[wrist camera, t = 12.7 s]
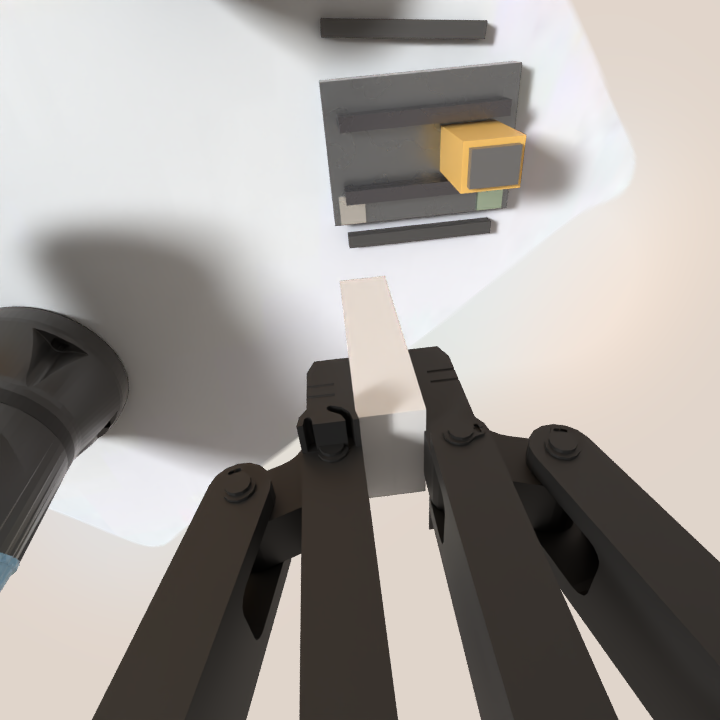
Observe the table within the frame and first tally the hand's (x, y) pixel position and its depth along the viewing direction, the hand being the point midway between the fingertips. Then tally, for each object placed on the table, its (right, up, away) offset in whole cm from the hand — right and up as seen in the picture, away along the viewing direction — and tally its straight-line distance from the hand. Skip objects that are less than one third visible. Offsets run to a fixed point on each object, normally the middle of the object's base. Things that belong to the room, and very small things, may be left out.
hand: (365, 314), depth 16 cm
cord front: (+3, +21, +15) cm, 26 cm away
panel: (+4, +15, +20) cm, 25 cm away
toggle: (+8, +14, +19) cm, 25 cm away
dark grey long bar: (+5, +10, +24) cm, 26 cm away
